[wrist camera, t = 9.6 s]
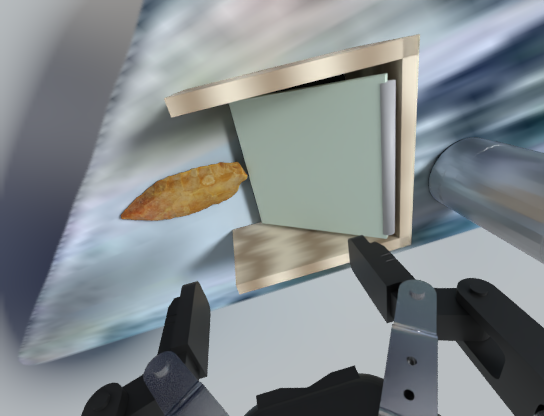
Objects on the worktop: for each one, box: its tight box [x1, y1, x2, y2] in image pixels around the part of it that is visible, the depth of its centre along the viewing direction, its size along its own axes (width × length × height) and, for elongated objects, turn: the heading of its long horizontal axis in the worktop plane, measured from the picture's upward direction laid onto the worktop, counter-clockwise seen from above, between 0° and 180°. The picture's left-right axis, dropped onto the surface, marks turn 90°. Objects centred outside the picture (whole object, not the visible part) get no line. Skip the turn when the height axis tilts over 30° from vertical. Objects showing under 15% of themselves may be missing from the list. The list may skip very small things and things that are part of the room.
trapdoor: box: [229, 73, 396, 239], centre depth 25 cm, size 15×14×1 cm
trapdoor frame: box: [164, 34, 420, 294], centre depth 26 cm, size 17×18×10 cm
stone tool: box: [121, 162, 248, 221], centre depth 29 cm, size 5×2×15 cm
